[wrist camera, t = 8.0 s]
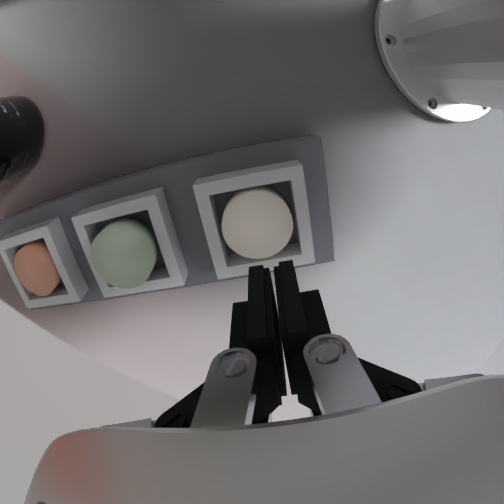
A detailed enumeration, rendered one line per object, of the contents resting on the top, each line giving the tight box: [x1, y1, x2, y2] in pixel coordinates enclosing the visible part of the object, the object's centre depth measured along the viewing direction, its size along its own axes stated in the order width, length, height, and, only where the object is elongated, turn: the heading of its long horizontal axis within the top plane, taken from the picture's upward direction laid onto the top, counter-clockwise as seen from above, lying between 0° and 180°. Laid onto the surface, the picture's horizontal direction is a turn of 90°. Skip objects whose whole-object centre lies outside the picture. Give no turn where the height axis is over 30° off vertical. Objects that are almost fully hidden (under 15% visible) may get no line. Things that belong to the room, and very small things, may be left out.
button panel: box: [0, 135, 334, 310], centre depth 22 cm, size 28×9×4 cm, turn 101°
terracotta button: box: [14, 238, 62, 296], centre depth 22 cm, size 4×4×2 cm
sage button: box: [90, 218, 158, 289], centre depth 20 cm, size 4×4×2 cm
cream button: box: [222, 185, 293, 259], centre depth 20 cm, size 4×4×2 cm
